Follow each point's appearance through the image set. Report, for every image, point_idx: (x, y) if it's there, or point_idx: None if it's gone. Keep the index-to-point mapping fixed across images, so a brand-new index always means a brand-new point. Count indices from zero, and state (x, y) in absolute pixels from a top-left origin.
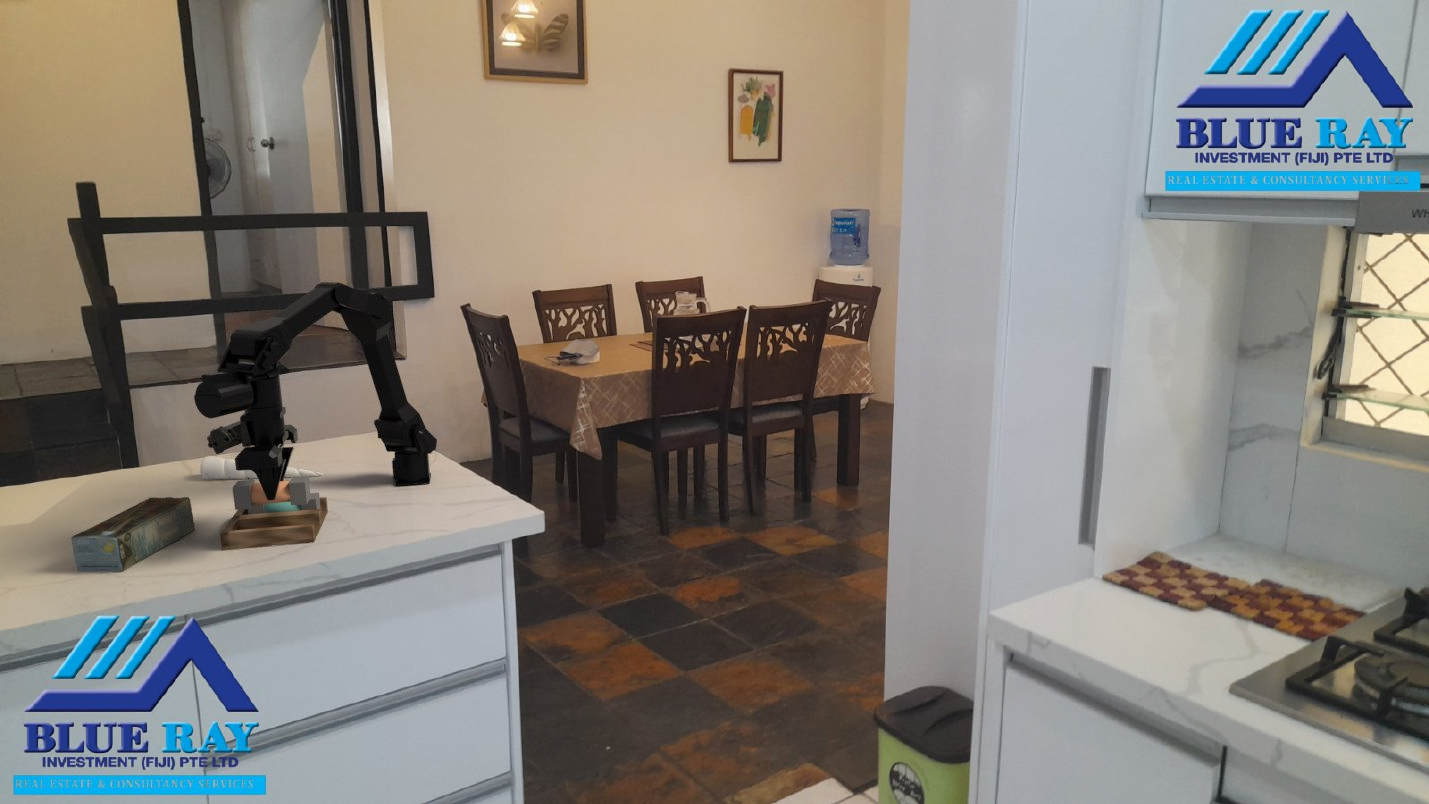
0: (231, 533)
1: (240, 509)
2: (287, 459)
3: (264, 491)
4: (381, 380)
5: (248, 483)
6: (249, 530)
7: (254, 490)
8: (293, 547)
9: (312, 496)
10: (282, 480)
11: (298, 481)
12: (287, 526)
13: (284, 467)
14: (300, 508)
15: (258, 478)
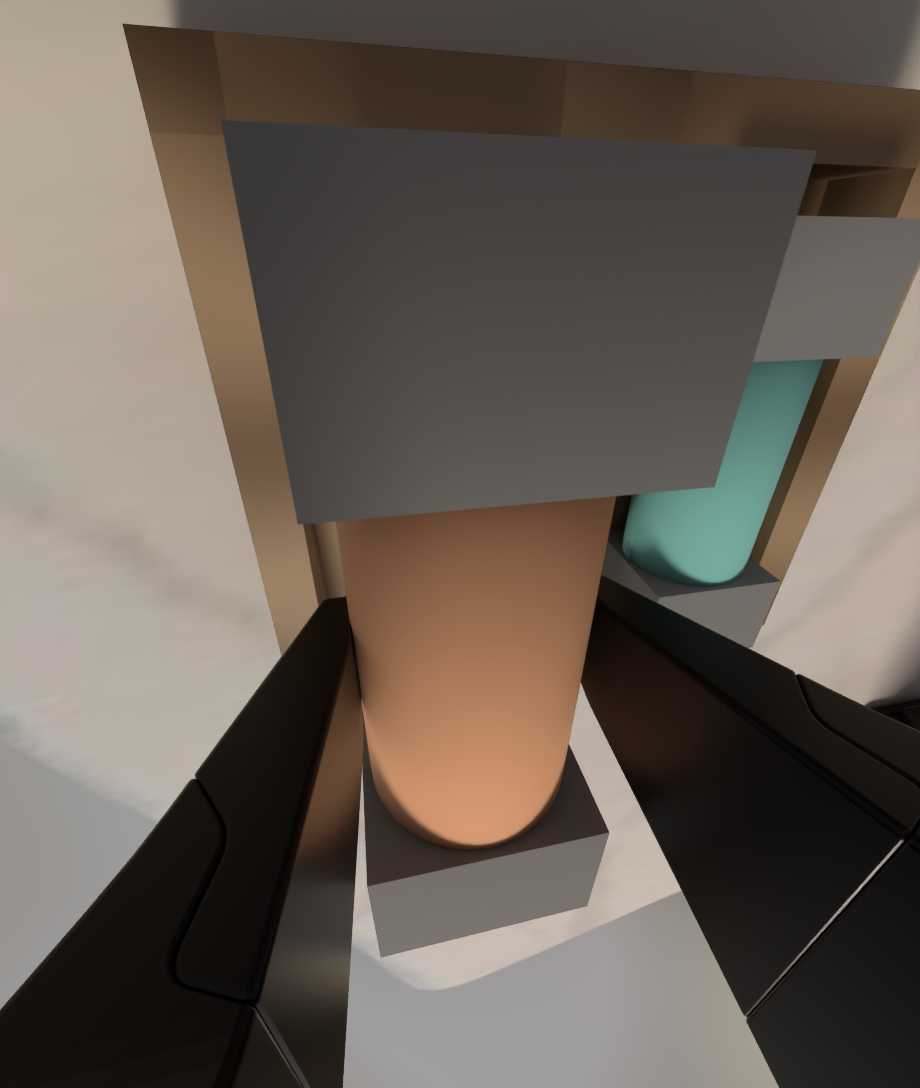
0: (163, 174)
1: (839, 113)
2: (789, 1085)
3: (278, 670)
4: None
5: (514, 455)
6: (234, 343)
7: (362, 531)
8: (231, 566)
9: None
10: (610, 740)
11: (419, 919)
12: (304, 583)
13: (709, 917)
14: (636, 560)
15: (102, 902)
